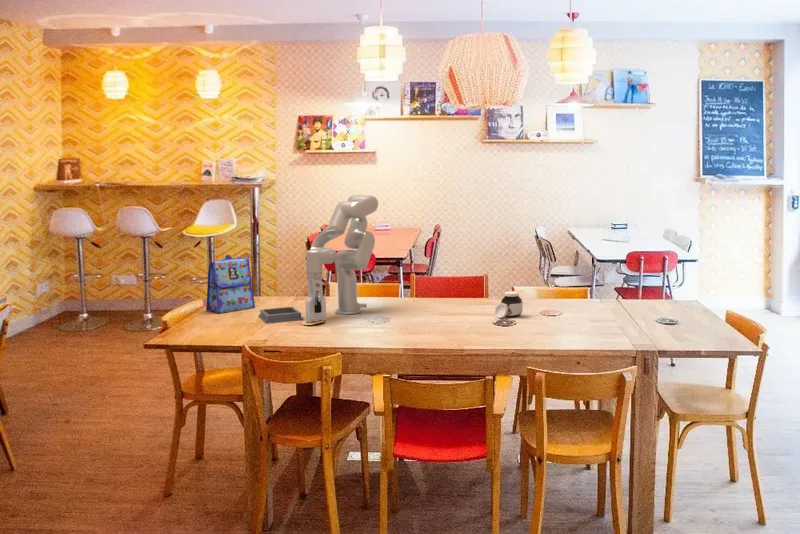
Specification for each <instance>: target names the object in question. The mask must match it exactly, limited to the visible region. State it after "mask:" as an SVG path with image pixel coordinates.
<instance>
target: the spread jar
mask: <svg viewBox="0 0 800 534" xmlns="http://www.w3.org/2000/svg"><path fill="white" fill-rule="evenodd" d="M523 305H524V304H523V300H522V298H521V296H520V292H519V291H513V290H510V291H508V290H507V291H505V292H504V297H503V298H502V299H501V301H500V303H499V304H497V305H496V307H495V310H494V313H495V316H496V317H497V318H499V319H503V318H510V319H513V318H514V319H515V318H519V317H520V316H521V315H522V314H523V309H524V308H523V307H524V306H523Z"/></svg>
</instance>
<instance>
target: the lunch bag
mask: <svg viewBox="0 0 800 534" xmlns="http://www.w3.org/2000/svg"><path fill="white" fill-rule="evenodd" d="M206 289H207V290H206V307H205V308H206V311H209V312H210V311H213V312H215V313H216V314H223V313H225V314H226V313H230V312H237V311H243V310H249V309H254V308H256V303H255V297H254V291H253V286H252V274H251V269H250V260H249V257H247V256H242V257H235V258H232V257H231V255H230V254H225V257H224V259H219V260H215V261H210V263H209V264H208V272H207V288H206Z"/></svg>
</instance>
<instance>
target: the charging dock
mask: <svg viewBox="0 0 800 534" xmlns="http://www.w3.org/2000/svg"><path fill="white" fill-rule="evenodd" d="M259 310H260V311H259V314H258V318H259V319H261V320H262V321H263V322H264V323H266V324H268V325H269V324H277V323H285V322H286V323H287V322H295V321H297V322H298V321H304V317H303V316H302V312H301V311H299V310H298V309H297V308H295V307H294V306H286V307H274V308H264V309H259Z"/></svg>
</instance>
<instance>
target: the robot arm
mask: <svg viewBox="0 0 800 534" xmlns="http://www.w3.org/2000/svg"><path fill="white" fill-rule="evenodd" d="M378 208H379V200H378V198H376V196H374V195H363V194H362V195H361V194H355V195H350V196H349V197H348V198H347V200H343V201H339V202H338V203H337V205H336V206H335V208H334V211H333V213H332V216H331V217H330V221H329V222H328V225H327V226H326V227H325V228H324V229H322V230H321V232H320V233H319V234H318V235H316V237H314V240H313V241H312V244H311V246H310V248H309V250H306V253H305V260H306V261H305V263H306V264H305V266H306V267H305V268H306V270H305V271H306V272H305V273H306V280H308V281H307V284H308V285H307V294H308V295H307V296H308V297H311V298H312V299H313V300H314V301H315V313H321V312H322V310H321V300H322V299H323V296H324V291H323V281H322V279H323V265H324V264H325V265H329V264H333V263H334V264H335V268H336V274H337V275H336V276H337V300H338V301H337V303H338V304H337V306H338V307H337V309H335V311H334V312H335V314H338V315H355V314H356V315H357V314H359V313H361V312H362V311H361V308H364V309H365V308H367V307H368V305H367V303H359V302H358V285H357V284H358V283H357V282H358V281H357V279H358V278H357V275H356V272H355V271H362V270H365V269H366V268H367V266H368V264H369V262H370V259H371V256H372V253H373V251H374V248H375V242H376V240H375V235H374V233H373V232H371V231H368V230H367V228H368V219H367V216H370V215H372V214H373V213H375V212H376V211H377V209H378ZM349 221H350V224H349ZM348 224H349V227H348V229H347V226H348ZM346 229H347V232H346V233H345V231H346ZM343 234H346V235H345V237H344V246H345V247H347V248H348V249H340V250H338V251H337V252H336V250H335V249H333V248H331V247H325V246H326V244H328V243H329V242H330V241H333V240H335V239H337V238H339V237H341V236H343ZM316 300H317V302H316Z"/></svg>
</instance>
